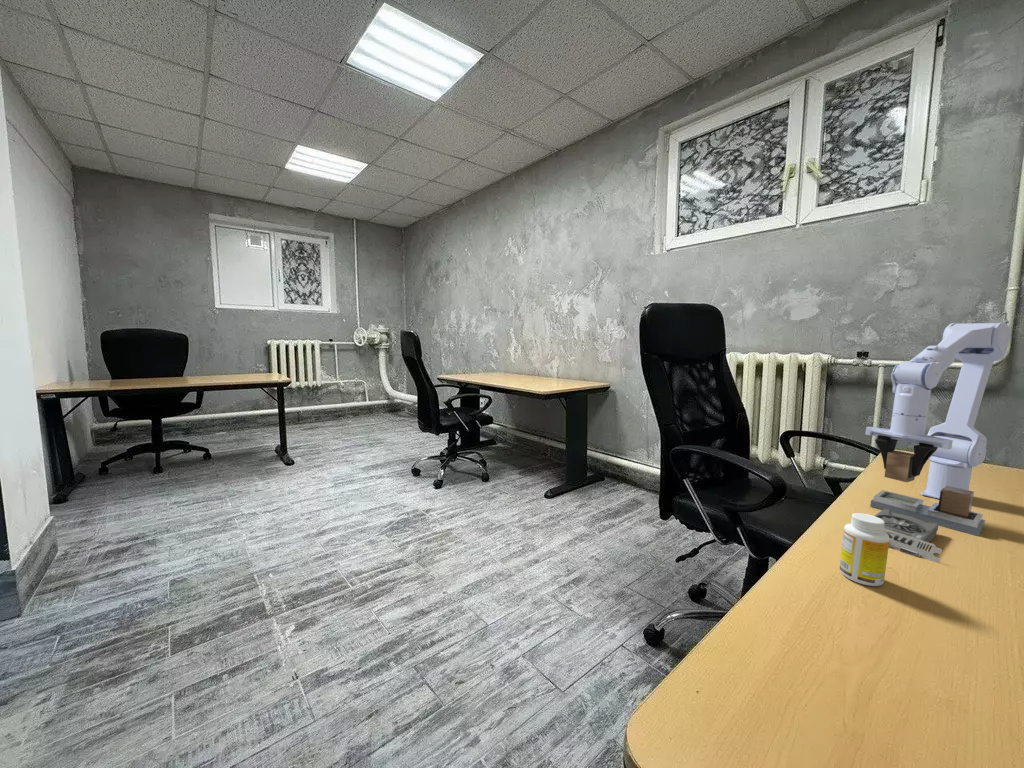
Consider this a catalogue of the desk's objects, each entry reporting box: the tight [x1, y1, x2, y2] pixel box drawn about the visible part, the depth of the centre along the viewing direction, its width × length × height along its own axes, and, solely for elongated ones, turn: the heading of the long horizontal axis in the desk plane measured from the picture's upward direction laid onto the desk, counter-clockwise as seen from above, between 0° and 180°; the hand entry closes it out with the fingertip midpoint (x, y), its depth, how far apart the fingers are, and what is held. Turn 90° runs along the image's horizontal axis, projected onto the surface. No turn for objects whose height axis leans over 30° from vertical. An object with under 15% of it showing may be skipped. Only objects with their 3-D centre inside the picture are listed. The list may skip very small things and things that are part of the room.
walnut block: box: [884, 450, 917, 483], centre depth 95 cm, size 4×4×6 cm
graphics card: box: [873, 509, 943, 564], centre depth 80 cm, size 17×4×12 cm
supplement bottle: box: [839, 512, 890, 587], centre depth 66 cm, size 6×6×10 cm
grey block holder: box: [869, 486, 986, 537], centre depth 91 cm, size 8×17×8 cm, turn 36°
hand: (901, 471), depth 95 cm, fingers closed on walnut block, 4 cm apart
